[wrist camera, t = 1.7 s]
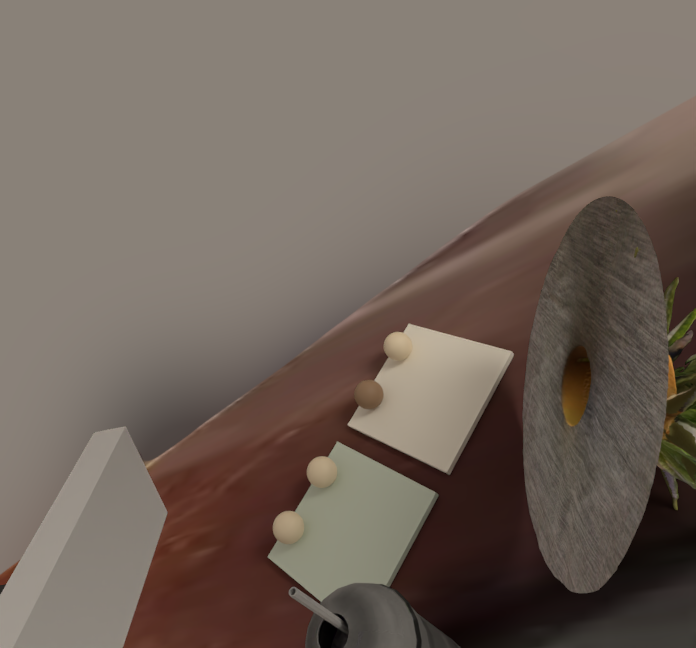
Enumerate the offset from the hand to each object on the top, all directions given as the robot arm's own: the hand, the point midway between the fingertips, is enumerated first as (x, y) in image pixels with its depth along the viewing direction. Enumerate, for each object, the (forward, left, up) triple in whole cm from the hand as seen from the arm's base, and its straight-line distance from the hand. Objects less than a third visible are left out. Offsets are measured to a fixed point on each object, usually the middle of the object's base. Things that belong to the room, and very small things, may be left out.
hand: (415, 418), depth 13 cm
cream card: (-12, -26, -35) cm, 46 cm away
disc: (-13, -6, -36) cm, 38 cm away
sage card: (+3, -26, -35) cm, 44 cm away
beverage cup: (+8, -12, -36) cm, 39 cm away
